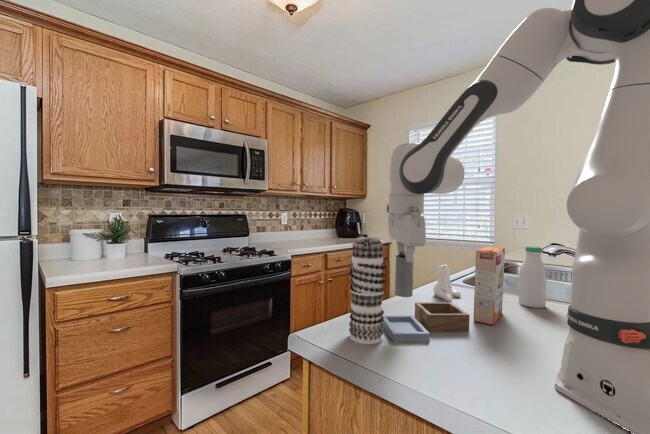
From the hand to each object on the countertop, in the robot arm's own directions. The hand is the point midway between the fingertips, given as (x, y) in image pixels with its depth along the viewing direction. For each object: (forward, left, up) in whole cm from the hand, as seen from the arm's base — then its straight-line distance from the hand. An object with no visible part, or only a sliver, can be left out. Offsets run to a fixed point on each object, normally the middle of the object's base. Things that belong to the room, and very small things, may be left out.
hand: (405, 259), depth 84 cm
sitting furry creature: (+32, -25, -19) cm, 45 cm away
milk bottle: (+22, -51, -19) cm, 59 cm away
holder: (+5, -12, -19) cm, 23 cm away
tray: (0, 0, -19) cm, 19 cm away
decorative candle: (-4, +11, -19) cm, 22 cm away
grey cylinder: (0, 0, -10) cm, 10 cm away
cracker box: (+10, -29, -19) cm, 36 cm away
